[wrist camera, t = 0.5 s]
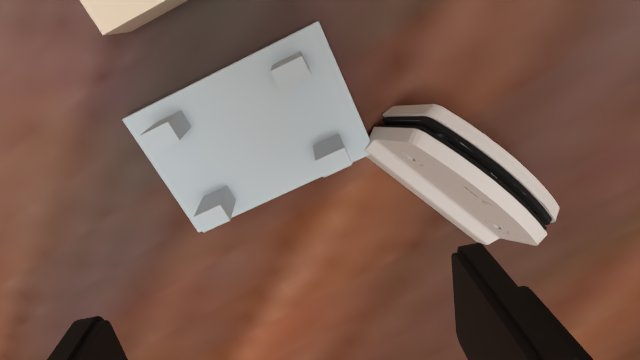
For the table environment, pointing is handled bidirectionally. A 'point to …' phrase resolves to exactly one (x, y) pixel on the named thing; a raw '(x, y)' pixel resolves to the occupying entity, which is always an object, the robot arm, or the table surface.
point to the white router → (462, 174)
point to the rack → (253, 129)
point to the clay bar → (126, 13)
